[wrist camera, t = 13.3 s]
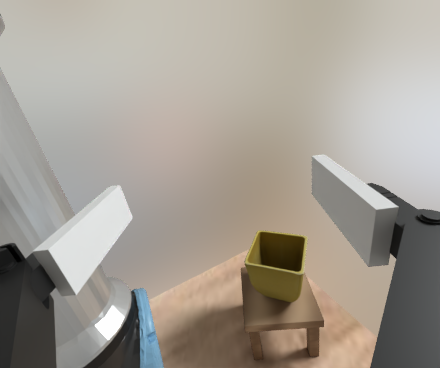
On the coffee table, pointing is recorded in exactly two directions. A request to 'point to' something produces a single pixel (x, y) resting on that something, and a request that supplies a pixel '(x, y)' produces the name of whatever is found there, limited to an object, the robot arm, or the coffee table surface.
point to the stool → (280, 315)
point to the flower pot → (277, 264)
